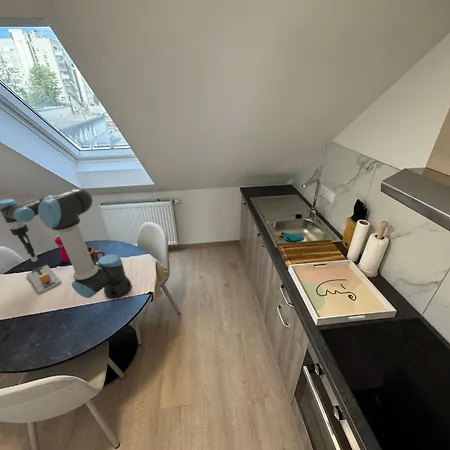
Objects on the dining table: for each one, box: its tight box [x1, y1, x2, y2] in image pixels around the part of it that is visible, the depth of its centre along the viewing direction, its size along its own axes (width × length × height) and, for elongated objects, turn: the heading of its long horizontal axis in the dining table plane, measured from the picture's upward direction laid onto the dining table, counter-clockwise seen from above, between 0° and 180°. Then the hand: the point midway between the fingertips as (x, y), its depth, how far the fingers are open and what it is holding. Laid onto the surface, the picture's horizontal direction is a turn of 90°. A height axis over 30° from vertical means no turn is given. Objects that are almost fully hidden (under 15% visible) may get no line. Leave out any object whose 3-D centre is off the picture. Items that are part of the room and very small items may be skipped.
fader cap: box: [38, 272, 51, 284], centre depth 152 cm, size 2×5×5 cm, turn 139°
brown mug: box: [87, 246, 106, 265], centre depth 164 cm, size 20×12×14 cm, turn 113°
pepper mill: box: [54, 234, 71, 263], centre depth 170 cm, size 7×7×20 cm
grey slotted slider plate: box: [25, 264, 62, 295], centre depth 157 cm, size 24×12×3 cm, turn 49°
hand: (35, 260), depth 150 cm, fingers closed
